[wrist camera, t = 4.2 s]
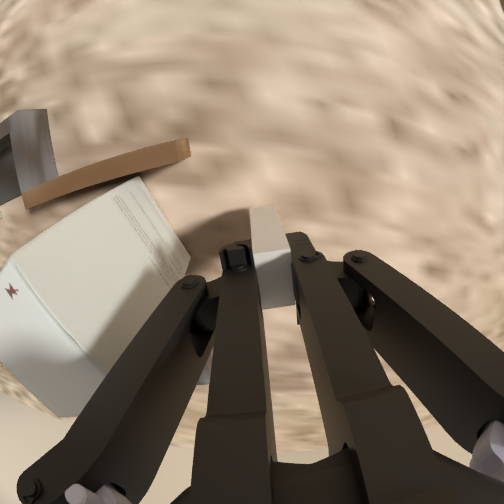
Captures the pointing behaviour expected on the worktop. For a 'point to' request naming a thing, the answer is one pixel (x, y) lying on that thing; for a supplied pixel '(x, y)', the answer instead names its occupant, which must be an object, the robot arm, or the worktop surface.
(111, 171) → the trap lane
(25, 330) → the supplement box
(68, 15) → the worktop surface
